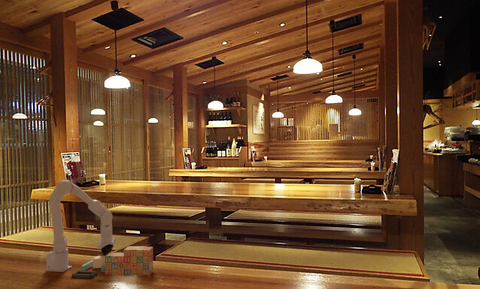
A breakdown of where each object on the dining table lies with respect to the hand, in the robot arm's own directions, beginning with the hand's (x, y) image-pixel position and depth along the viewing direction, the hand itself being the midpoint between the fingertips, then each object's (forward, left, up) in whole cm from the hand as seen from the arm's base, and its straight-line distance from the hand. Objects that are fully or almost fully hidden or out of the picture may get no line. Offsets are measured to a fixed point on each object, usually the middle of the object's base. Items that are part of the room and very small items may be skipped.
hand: (106, 259), depth 198 cm
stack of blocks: (+19, -13, -2) cm, 24 cm away
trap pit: (0, -20, -2) cm, 20 cm away
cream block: (0, -6, -2) cm, 7 cm away
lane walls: (0, -8, -2) cm, 9 cm away
